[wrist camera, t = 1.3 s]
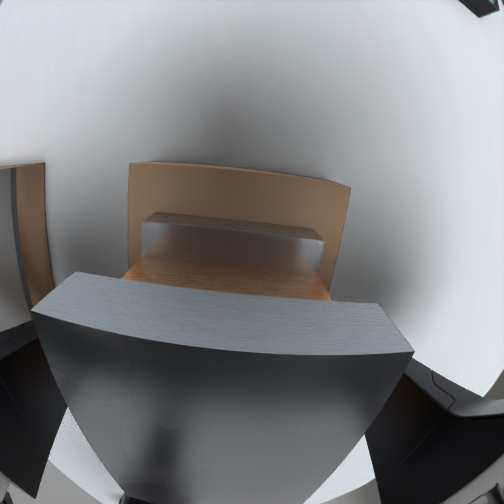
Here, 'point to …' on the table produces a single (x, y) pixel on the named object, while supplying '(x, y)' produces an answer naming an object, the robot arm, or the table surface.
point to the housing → (219, 363)
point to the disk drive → (481, 6)
